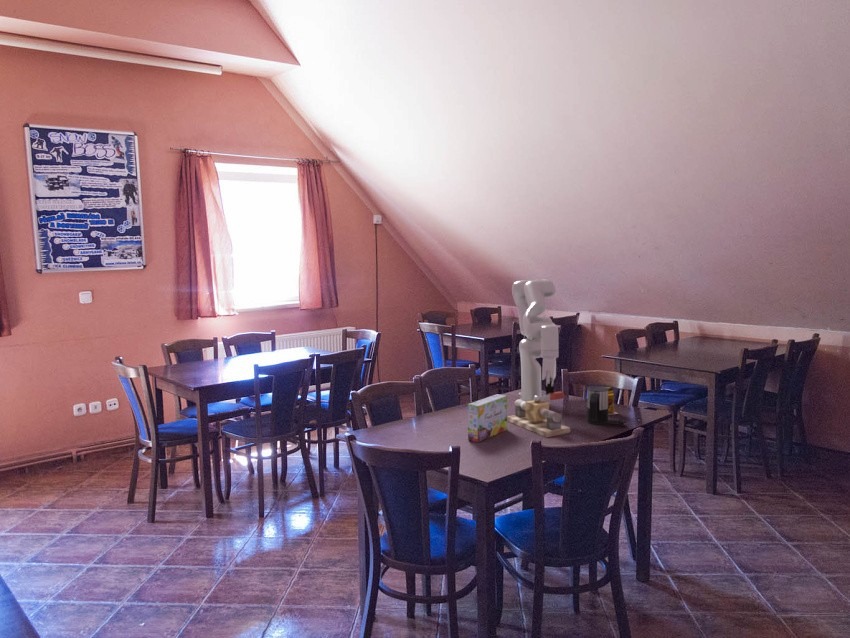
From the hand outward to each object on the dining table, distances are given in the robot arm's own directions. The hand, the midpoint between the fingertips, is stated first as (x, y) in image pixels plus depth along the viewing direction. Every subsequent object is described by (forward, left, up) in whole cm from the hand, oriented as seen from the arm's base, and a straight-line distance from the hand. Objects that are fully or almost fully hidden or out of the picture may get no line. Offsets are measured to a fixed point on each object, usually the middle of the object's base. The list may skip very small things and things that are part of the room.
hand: (549, 395), depth 277 cm
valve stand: (+4, -10, -11) cm, 16 cm away
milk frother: (+16, +17, -12) cm, 26 cm away
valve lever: (+4, -4, -1) cm, 6 cm away
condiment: (+3, +29, -12) cm, 31 cm away
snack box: (+3, -34, -12) cm, 36 cm away
